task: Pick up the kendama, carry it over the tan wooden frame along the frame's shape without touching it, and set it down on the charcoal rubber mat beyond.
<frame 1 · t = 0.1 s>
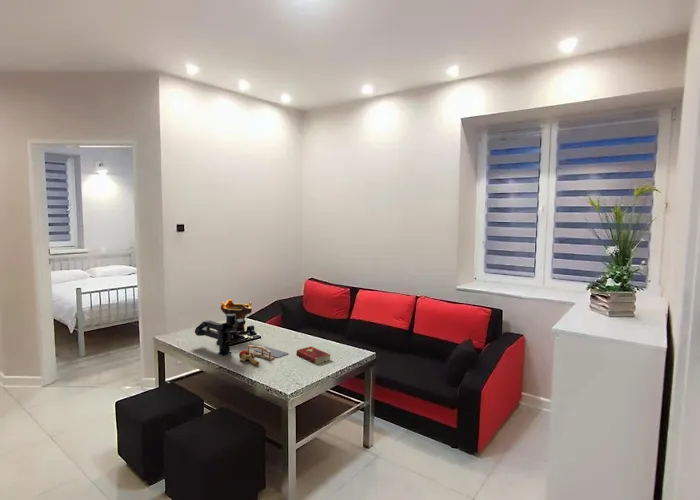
hand: (250, 335, 247), 17 cm above the table, tool horizontal, fingers open, 9 cm apart
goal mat: (271, 352, 267), on the table
hardcover book: (313, 358, 259), on the table
tan wooden frame: (260, 356, 260), on the table
kendama: (249, 362, 249), on the table
decorative vase: (236, 338, 296), on the table
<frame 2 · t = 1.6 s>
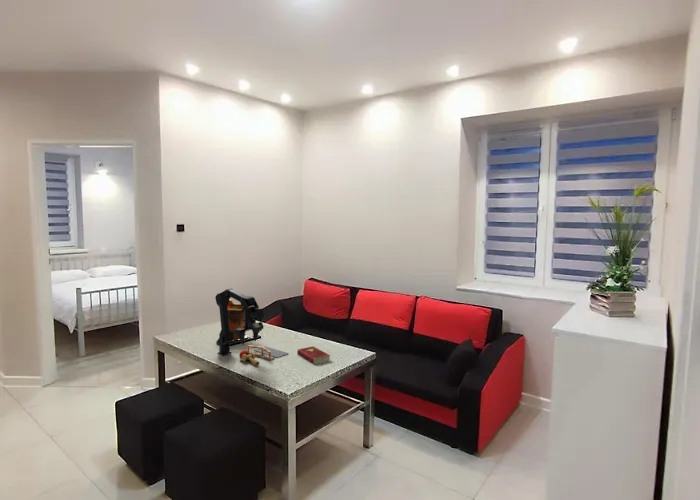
hand: (249, 342, 248), 12 cm above the table, tool pointing down, fingers open, 9 cm apart
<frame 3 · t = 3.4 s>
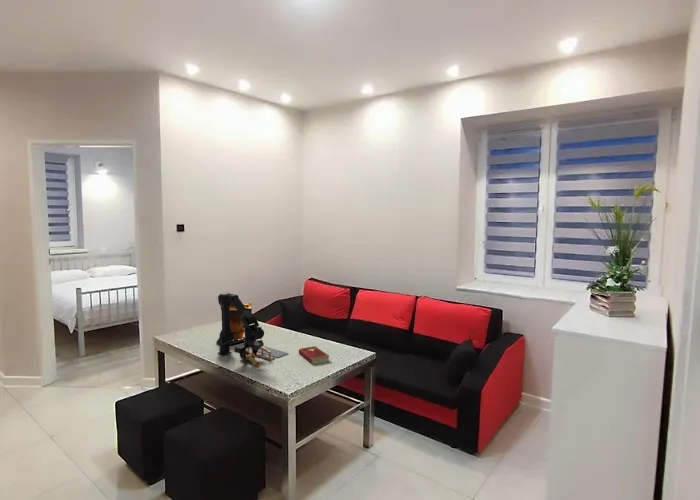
hand: (249, 360, 249), 1 cm above the table, tool pointing down, fingers closed on kendama, 7 cm apart
kendama: (250, 362, 249), on the table, touching gripper
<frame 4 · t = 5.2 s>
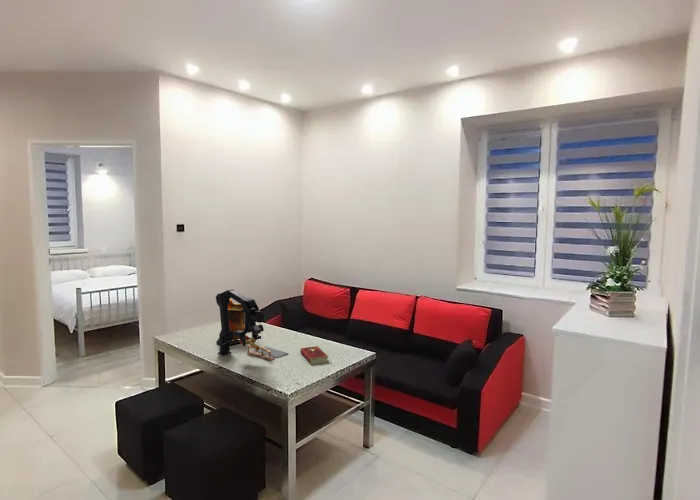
hand: (249, 344, 249), 11 cm above the table, tool pointing down, fingers closed on kendama, 7 cm apart
kendama: (250, 347, 248), point 9 cm above the table, touching gripper
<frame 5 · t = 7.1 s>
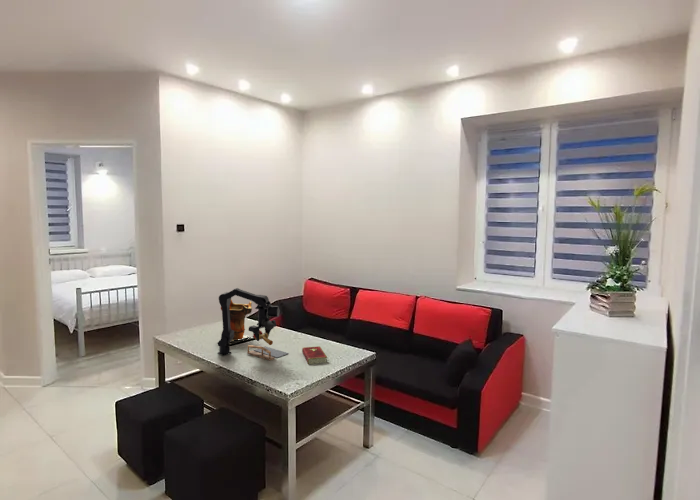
hand: (262, 339, 259), 11 cm above the table, tool pointing down, fingers closed on kendama, 7 cm apart
kendama: (263, 341, 259), point 9 cm above the table, touching gripper
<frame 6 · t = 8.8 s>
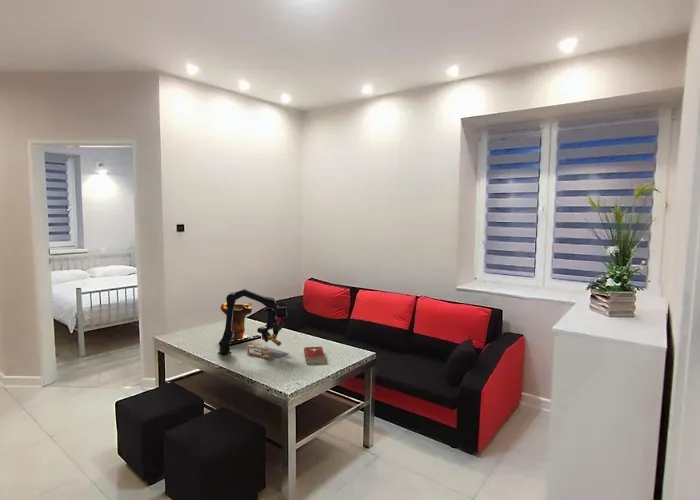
hand: (270, 340, 266), 8 cm above the table, tool pointing down, fingers closed on kendama, 7 cm apart
kendama: (271, 343, 266), point 7 cm above the table, touching gripper
when the fingers open (3 cm above the table, at t = 10.3 s): kendama drops 2 cm, resting on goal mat.
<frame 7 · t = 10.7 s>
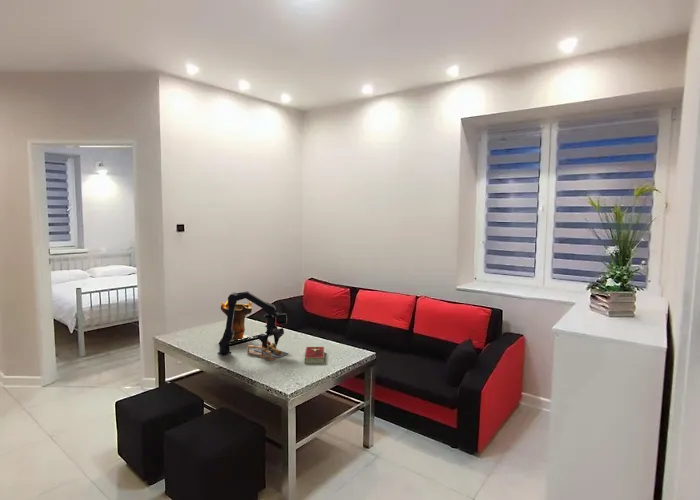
hand: (270, 347, 267), 3 cm above the table, tool pointing down, fingers open, 9 cm apart
kendama: (271, 352, 266), resting on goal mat
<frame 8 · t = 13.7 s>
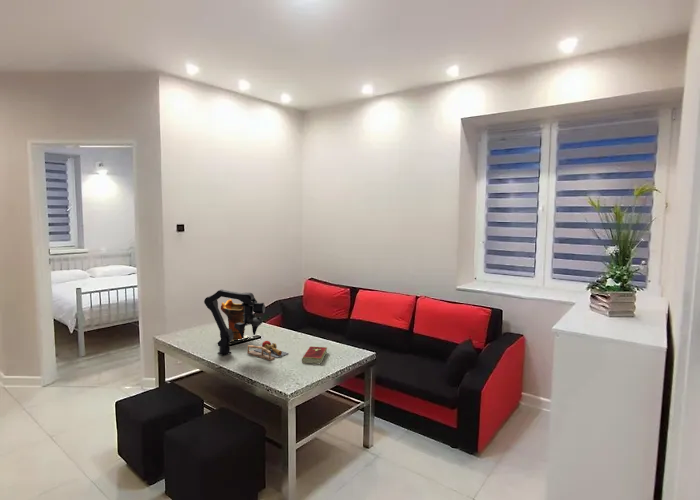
hand: (248, 336, 261), 12 cm above the table, tool pointing down, fingers open, 9 cm apart
at the end: kendama inside the target area (1.1 cm from its centre), resting on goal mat; kendama touching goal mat; the gripper is holding nothing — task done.
